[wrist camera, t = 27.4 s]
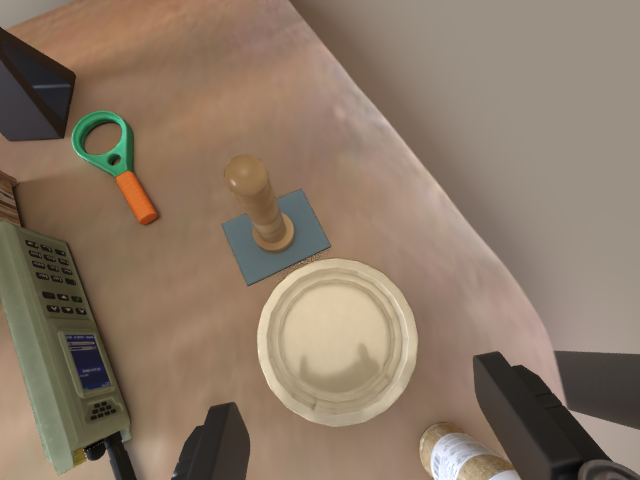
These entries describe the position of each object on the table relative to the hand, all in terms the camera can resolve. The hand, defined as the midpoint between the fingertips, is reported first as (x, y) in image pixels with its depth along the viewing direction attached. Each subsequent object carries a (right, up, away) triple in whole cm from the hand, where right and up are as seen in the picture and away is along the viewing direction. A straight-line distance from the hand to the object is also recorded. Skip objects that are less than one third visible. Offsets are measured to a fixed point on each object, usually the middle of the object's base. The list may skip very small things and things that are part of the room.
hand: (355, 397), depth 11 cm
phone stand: (-33, +21, +28) cm, 48 cm away
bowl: (0, -4, +20) cm, 20 cm away
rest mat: (-6, +6, +23) cm, 24 cm away
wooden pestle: (-6, +6, +23) cm, 24 cm away
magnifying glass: (-23, +13, +26) cm, 37 cm away
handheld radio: (-22, -6, +20) cm, 30 cm away
